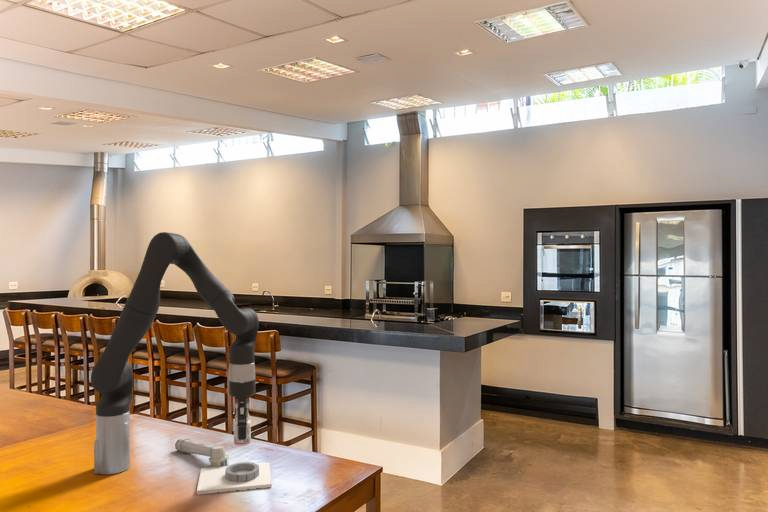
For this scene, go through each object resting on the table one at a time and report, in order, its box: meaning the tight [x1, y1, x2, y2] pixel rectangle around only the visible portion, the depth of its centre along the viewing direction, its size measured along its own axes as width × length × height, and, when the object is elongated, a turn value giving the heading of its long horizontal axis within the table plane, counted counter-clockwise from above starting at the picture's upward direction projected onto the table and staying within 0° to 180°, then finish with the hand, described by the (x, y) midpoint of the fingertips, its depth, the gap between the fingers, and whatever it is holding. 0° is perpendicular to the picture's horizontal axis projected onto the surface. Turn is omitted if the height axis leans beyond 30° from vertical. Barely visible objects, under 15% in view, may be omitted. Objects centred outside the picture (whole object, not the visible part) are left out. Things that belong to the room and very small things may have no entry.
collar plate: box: [196, 461, 273, 495], centre depth 164 cm, size 20×16×3 cm
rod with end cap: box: [174, 438, 229, 468], centre depth 180 cm, size 5×7×25 cm
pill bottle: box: [233, 412, 252, 447], centre depth 165 cm, size 5×5×8 cm
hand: (242, 435), depth 165 cm, fingers closed on pill bottle, 4 cm apart
